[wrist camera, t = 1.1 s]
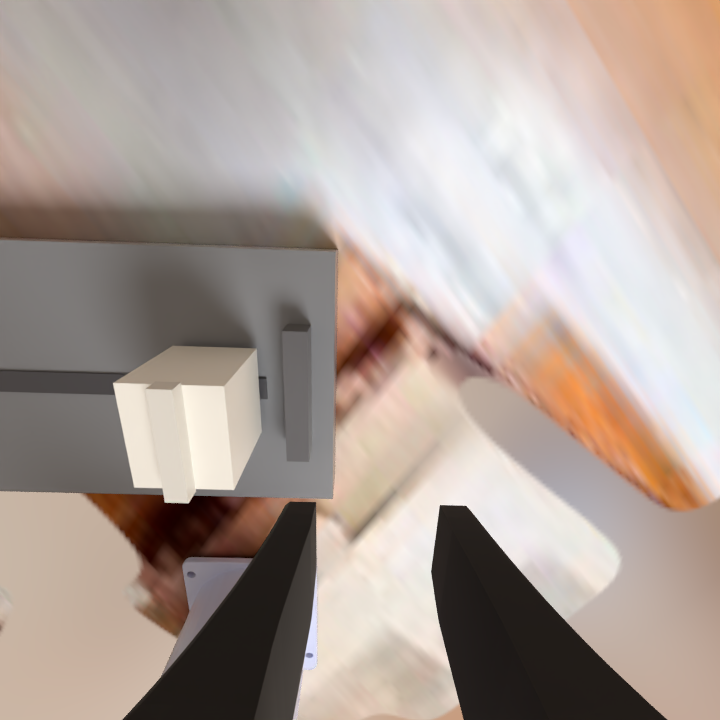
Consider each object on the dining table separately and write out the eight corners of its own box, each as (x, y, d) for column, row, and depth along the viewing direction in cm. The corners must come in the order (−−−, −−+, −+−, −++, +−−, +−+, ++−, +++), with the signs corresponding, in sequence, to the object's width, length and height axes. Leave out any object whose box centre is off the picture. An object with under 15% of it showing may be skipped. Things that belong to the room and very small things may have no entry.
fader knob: (261, 433, 17) (228, 504, 12) (184, 431, 17) (124, 501, 12) (256, 346, 15) (216, 391, 11) (172, 343, 15) (99, 387, 11)
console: (334, 474, 20) (330, 516, 17) (-182, 461, 20) (-278, 502, 17) (338, 249, 16) (333, 253, 13) (-307, 226, 16) (-462, 225, 13)
